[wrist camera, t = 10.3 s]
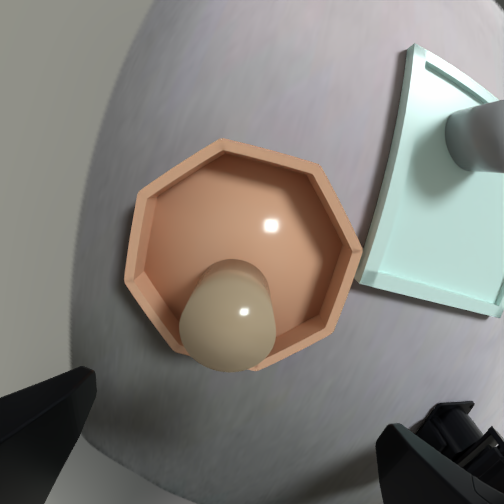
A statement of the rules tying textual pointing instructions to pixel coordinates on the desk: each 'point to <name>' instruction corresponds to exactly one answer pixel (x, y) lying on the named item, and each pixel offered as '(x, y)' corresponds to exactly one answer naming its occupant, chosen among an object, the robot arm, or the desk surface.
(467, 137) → the grey rounded lump
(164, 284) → the dish
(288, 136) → the desk surface
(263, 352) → the river pebble
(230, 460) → the desk surface
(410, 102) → the parts tray
